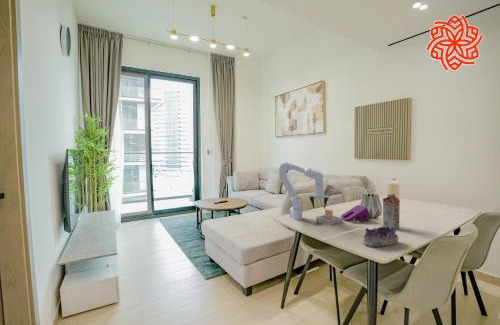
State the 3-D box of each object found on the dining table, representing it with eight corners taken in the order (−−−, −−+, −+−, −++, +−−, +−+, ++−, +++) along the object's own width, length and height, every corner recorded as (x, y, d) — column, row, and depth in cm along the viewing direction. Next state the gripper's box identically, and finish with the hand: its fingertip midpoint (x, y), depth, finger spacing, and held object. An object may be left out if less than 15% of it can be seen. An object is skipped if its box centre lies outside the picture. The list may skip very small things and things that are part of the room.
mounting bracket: (350, 231, 166) (371, 218, 169) (345, 221, 165) (366, 207, 167) (342, 227, 175) (362, 214, 178) (337, 217, 174) (357, 204, 177)
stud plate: (308, 224, 165) (308, 218, 164) (317, 222, 169) (317, 216, 169) (317, 227, 157) (317, 221, 157) (327, 225, 161) (327, 219, 161)
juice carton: (382, 226, 156) (383, 193, 155) (389, 225, 159) (390, 193, 157) (392, 229, 150) (392, 195, 149) (399, 228, 153) (399, 194, 151)
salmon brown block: (325, 221, 167) (325, 210, 166) (325, 219, 171) (325, 208, 171) (332, 222, 165) (332, 211, 165) (332, 220, 170) (332, 209, 169)
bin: (316, 221, 171) (316, 216, 171) (327, 218, 177) (327, 213, 177) (330, 226, 160) (330, 221, 160) (342, 223, 166) (342, 218, 165)
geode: (377, 251, 120) (374, 232, 121) (359, 246, 131) (356, 228, 131) (403, 242, 128) (400, 224, 129) (384, 238, 139) (381, 221, 139)
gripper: (329, 188, 170) (329, 207, 171) (309, 188, 175) (309, 206, 176) (329, 190, 164) (329, 209, 165) (308, 189, 169) (308, 208, 170)
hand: (319, 207), depth 170 cm, fingers open, 7 cm apart
